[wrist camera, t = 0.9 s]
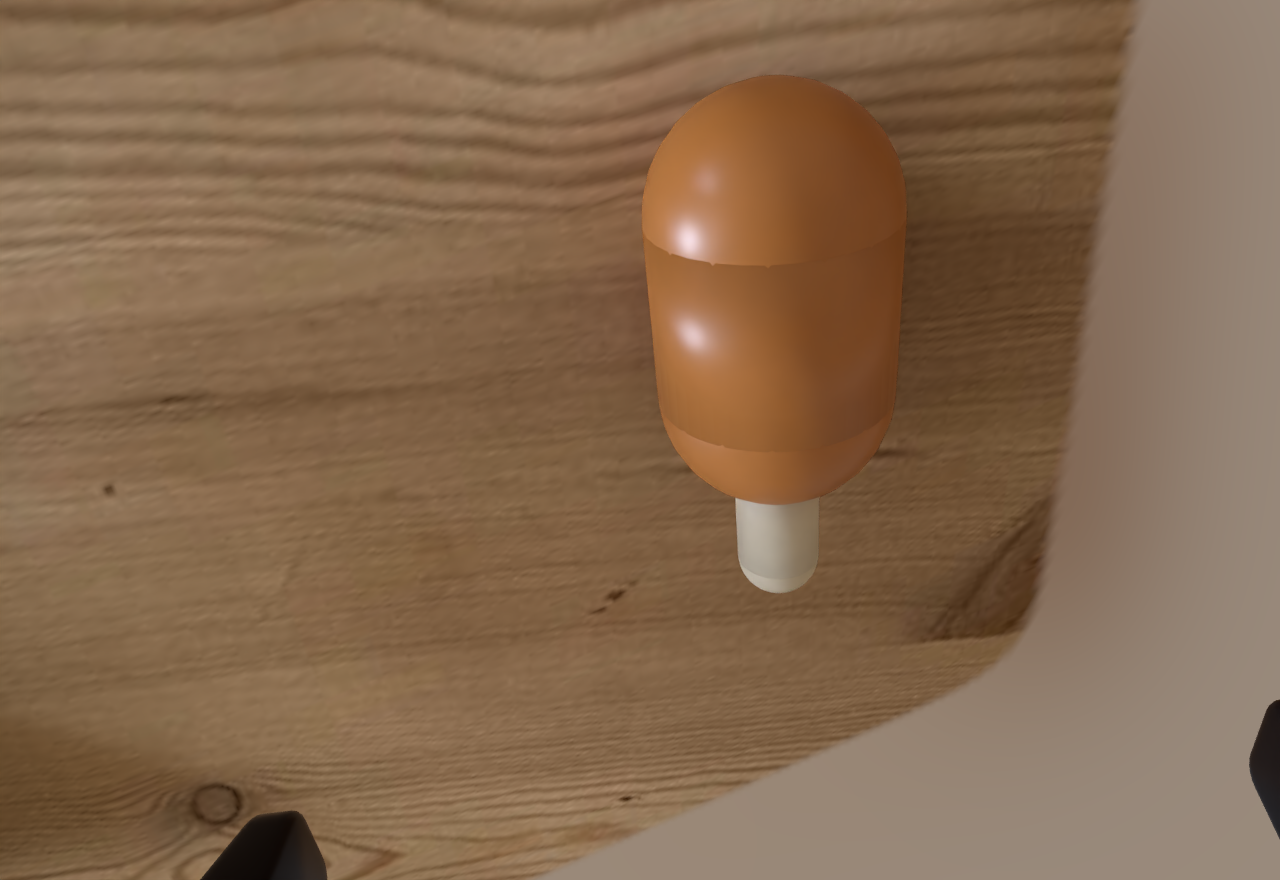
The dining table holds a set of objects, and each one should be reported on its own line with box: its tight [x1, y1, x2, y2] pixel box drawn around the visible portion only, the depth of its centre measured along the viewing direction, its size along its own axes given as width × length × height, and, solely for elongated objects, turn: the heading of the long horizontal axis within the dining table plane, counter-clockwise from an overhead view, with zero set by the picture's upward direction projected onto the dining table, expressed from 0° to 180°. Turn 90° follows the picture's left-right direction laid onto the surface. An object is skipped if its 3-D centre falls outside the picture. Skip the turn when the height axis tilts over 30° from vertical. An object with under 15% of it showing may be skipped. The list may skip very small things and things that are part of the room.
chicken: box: [642, 75, 907, 593], centre depth 17 cm, size 10×4×4 cm, turn 5°
